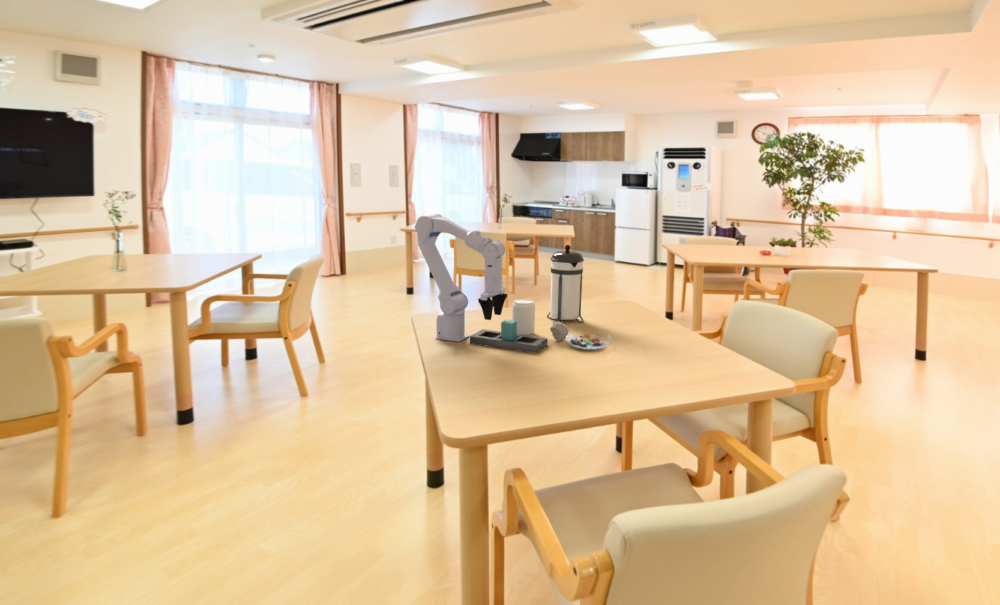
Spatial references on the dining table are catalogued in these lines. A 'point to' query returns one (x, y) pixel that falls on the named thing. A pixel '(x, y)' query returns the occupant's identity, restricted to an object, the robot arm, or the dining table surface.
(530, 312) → the beverage can
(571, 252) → the coffee press
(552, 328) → the grey lumpy piece
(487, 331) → the rail
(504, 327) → the square peg
